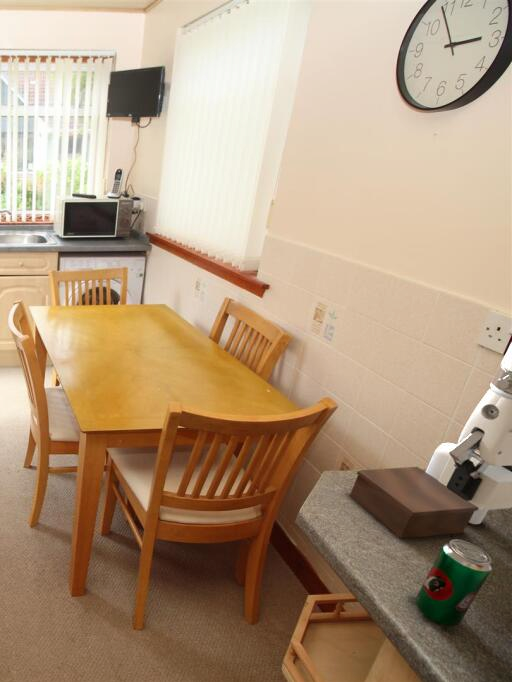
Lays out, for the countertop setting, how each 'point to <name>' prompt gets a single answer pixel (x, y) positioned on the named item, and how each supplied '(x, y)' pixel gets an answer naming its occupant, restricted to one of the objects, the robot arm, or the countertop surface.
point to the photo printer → (438, 467)
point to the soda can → (453, 582)
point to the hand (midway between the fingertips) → (474, 492)
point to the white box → (487, 486)
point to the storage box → (411, 502)
